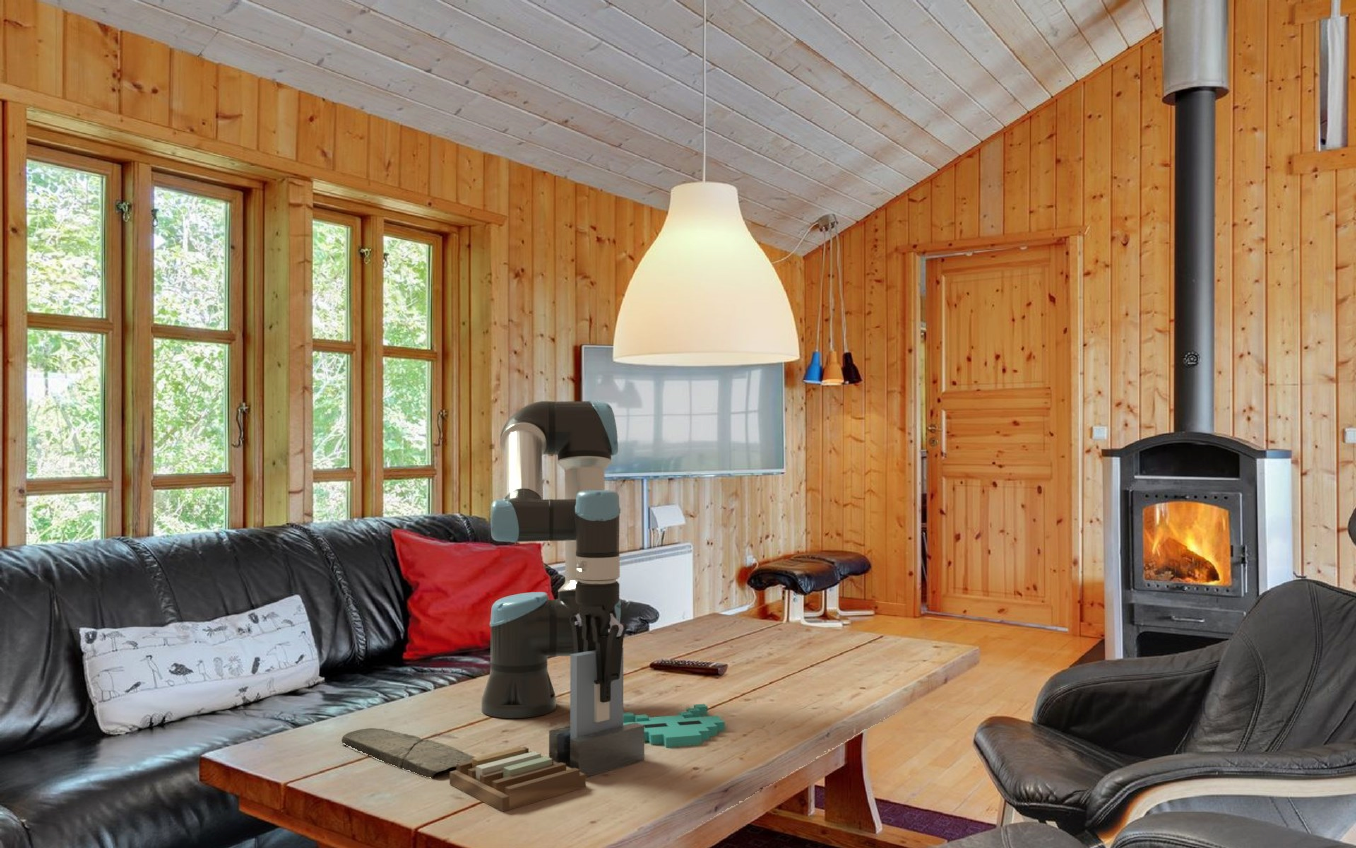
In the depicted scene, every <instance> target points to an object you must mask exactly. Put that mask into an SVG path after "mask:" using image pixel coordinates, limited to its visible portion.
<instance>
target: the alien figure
mask: <svg viewBox="0 0 1356 848" xmlns="http://www.w3.org/2000/svg"><path fill="white" fill-rule="evenodd" d="M708 709H709V708H708V705H706V704H705V703H698V704H693V707H686V709H685V711H678V714H677V715H664V716H654V717H652V716H648V715H647V714H636V715H635V714H634V713H633V711H631V712H630V711H629V712H628V711H627V712H623V725H627V724H631V723H635V722H636V723H639V724H642V725H644V741H646V742H648V741H649V742H648V743H649V744H650V745H651V746H652V744H656V745H663V744H664V745H663V746H664V747H665V748H677V747H678V746H679V747H690V746H700V745H701V746H702V743H703V741H710V740H711V739H710V737H715V736H718V732H717V731H721V732H725V731H726V722H725V720H723V718H721V717H720V716H719V715H709V716H708V714H709V713H708ZM703 715H706V716H703Z"/></svg>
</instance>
